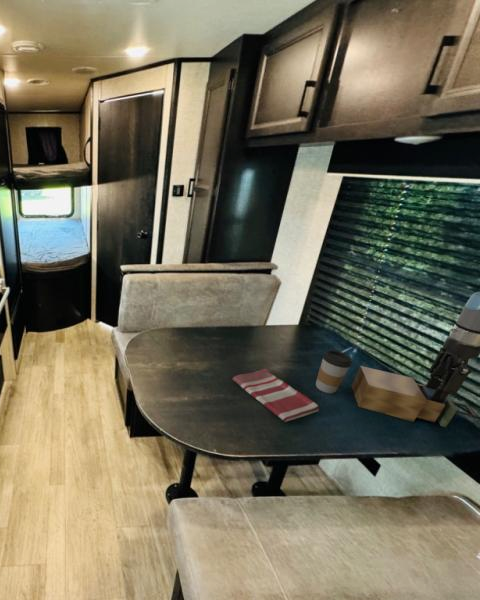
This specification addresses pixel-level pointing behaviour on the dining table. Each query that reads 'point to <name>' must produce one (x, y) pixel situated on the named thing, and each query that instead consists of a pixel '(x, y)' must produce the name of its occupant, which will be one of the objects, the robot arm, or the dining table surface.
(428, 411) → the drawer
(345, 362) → the coffee cup
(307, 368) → the dining table surface
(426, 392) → the block
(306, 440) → the dining table surface
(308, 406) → the dish towel
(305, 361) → the dining table surface
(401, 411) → the cabinet
